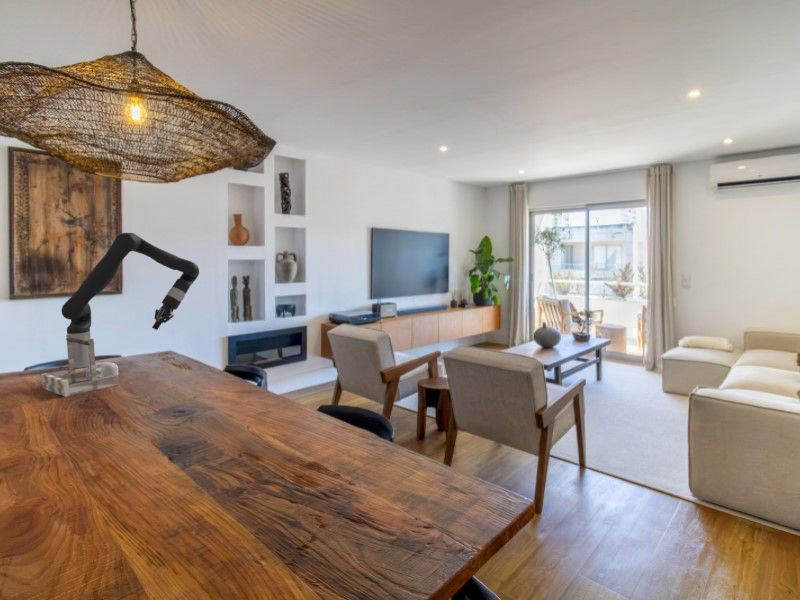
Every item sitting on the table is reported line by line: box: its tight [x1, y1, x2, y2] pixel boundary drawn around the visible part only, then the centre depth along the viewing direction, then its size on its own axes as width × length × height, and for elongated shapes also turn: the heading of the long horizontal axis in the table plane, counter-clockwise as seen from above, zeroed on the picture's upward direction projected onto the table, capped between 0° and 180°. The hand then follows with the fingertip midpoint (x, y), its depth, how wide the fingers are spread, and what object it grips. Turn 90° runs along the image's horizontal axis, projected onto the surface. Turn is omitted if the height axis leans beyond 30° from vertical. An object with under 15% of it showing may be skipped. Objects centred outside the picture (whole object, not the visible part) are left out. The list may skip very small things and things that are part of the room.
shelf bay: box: [41, 334, 120, 398], centre depth 183 cm, size 22×20×21 cm
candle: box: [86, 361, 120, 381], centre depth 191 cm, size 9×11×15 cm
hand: (154, 328), depth 212 cm, fingers closed
